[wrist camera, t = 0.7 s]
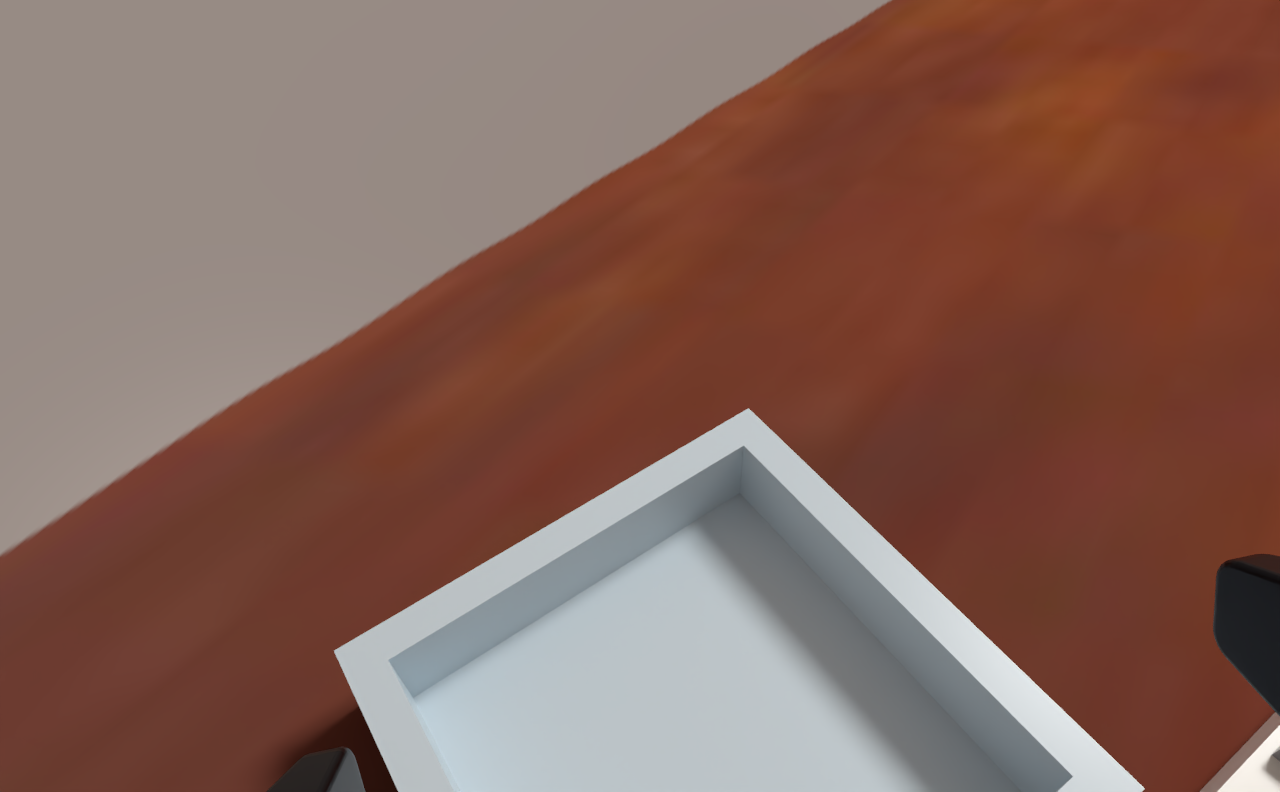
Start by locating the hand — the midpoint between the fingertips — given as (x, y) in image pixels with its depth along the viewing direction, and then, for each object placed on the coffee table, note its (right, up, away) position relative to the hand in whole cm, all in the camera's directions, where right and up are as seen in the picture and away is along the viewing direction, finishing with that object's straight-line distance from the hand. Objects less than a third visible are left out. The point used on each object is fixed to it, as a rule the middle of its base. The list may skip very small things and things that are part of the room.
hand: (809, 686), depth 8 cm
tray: (0, -6, +13) cm, 14 cm away
